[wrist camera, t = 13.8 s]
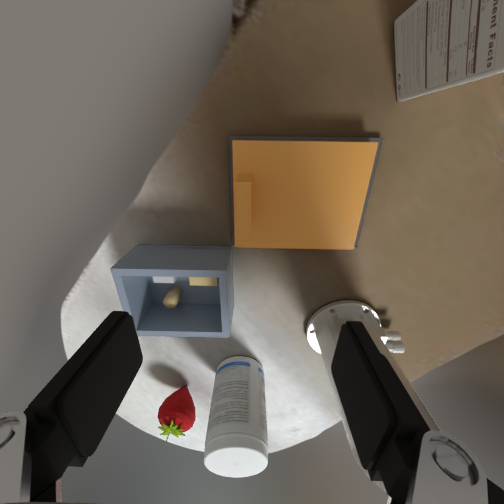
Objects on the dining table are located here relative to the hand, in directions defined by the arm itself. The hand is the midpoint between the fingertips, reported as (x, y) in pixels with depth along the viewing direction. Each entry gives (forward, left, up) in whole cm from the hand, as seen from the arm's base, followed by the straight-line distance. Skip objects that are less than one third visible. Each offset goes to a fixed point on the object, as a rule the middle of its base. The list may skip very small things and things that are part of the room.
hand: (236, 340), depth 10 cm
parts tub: (+10, +11, -23) cm, 27 cm away
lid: (-6, -2, -22) cm, 23 cm away
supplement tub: (+2, +33, -23) cm, 40 cm away
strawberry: (+14, +39, -23) cm, 47 cm away
